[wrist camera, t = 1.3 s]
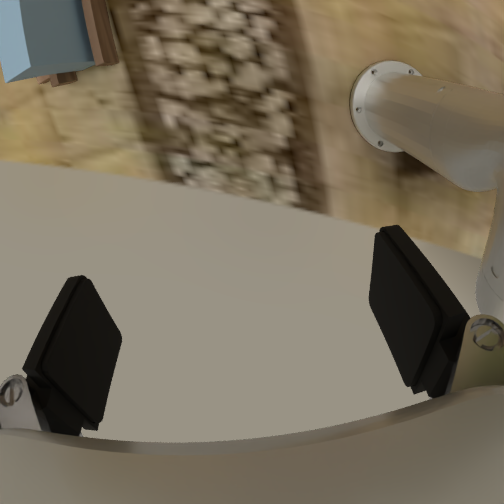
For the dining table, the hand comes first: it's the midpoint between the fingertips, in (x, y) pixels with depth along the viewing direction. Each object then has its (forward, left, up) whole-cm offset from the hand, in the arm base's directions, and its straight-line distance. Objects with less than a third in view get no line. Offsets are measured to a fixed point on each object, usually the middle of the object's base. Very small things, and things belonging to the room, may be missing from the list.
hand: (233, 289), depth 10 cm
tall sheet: (+15, -19, -31) cm, 39 cm away
